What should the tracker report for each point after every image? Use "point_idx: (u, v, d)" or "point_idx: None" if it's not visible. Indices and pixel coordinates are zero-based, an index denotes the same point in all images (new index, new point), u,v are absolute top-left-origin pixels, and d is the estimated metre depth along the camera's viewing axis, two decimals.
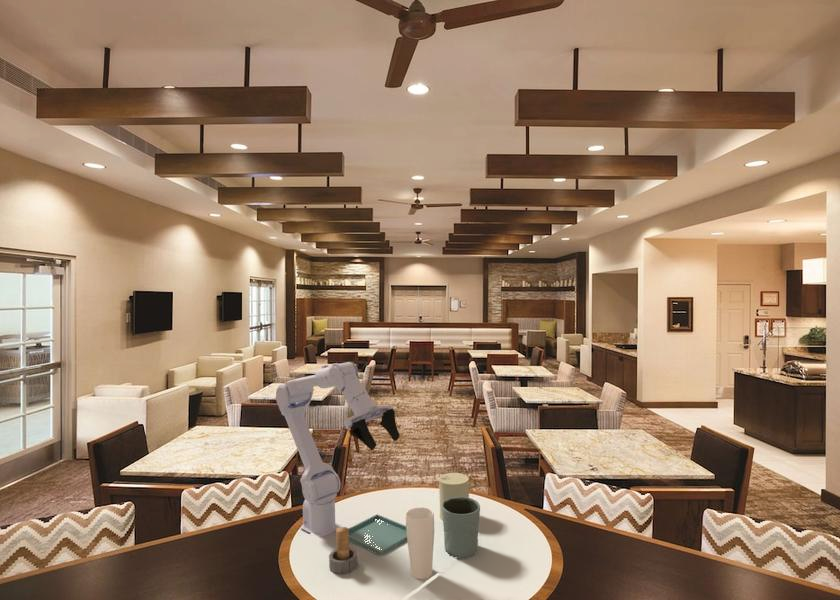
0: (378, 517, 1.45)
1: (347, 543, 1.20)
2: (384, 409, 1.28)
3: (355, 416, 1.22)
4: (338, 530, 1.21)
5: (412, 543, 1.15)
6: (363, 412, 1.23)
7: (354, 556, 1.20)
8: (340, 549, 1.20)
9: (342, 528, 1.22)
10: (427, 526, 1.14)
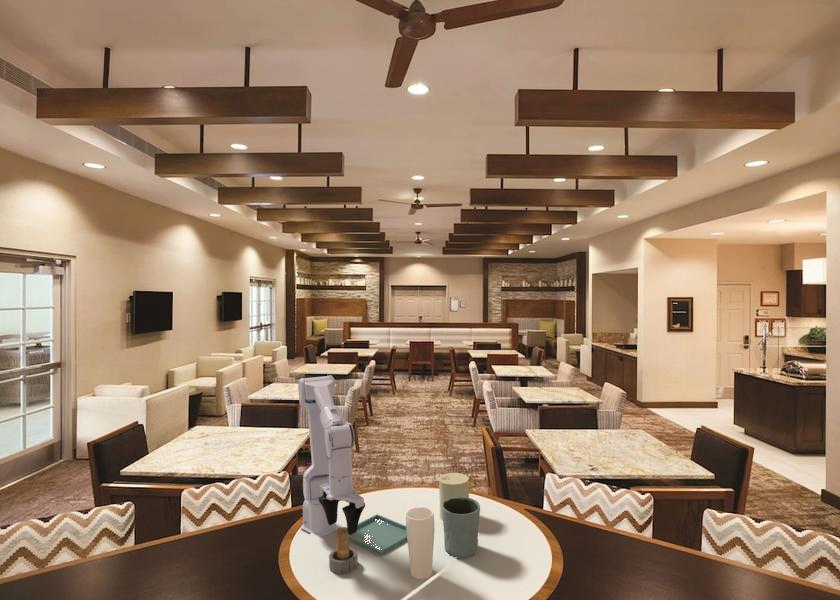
0: (378, 517, 1.45)
1: (347, 543, 1.20)
2: None
3: (324, 490, 1.23)
4: (338, 530, 1.21)
5: (412, 543, 1.15)
6: (327, 493, 1.21)
7: (354, 556, 1.20)
8: (340, 549, 1.20)
9: (342, 528, 1.22)
10: (427, 526, 1.14)
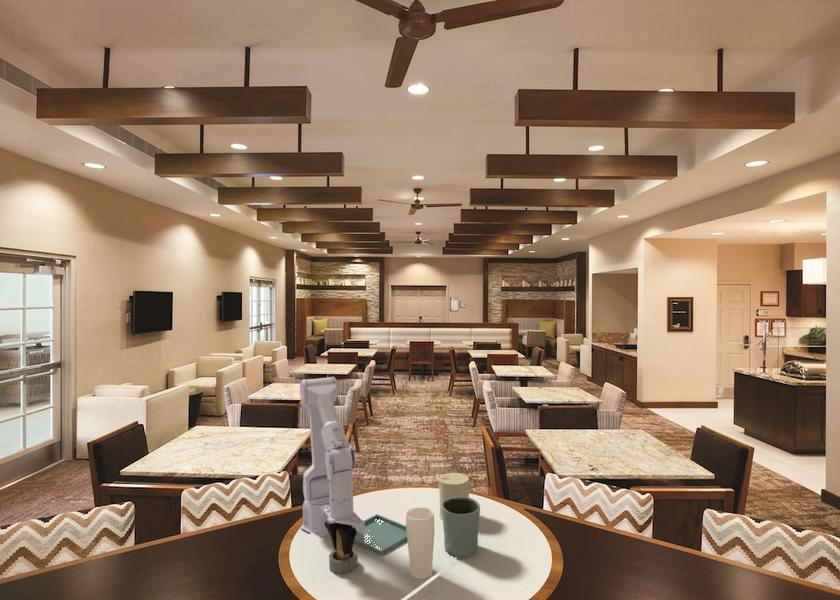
0: (378, 517, 1.45)
1: None
2: None
3: (325, 512, 1.23)
4: None
5: (412, 543, 1.15)
6: (327, 516, 1.21)
7: (354, 556, 1.20)
8: (340, 549, 1.20)
9: None
10: (427, 526, 1.14)
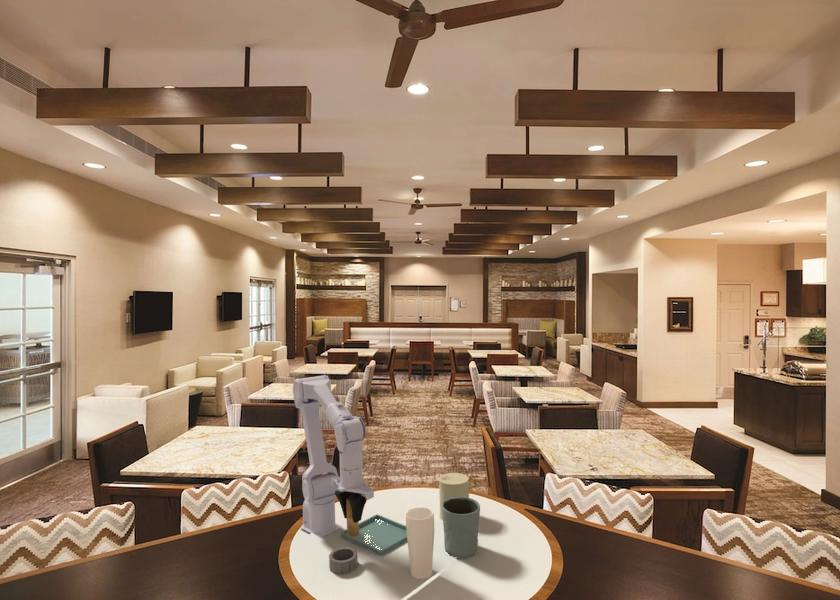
0: (378, 517, 1.45)
1: None
2: None
3: (335, 482, 1.27)
4: None
5: (412, 543, 1.15)
6: (338, 485, 1.25)
7: (354, 556, 1.20)
8: (350, 517, 1.24)
9: None
10: (427, 526, 1.14)
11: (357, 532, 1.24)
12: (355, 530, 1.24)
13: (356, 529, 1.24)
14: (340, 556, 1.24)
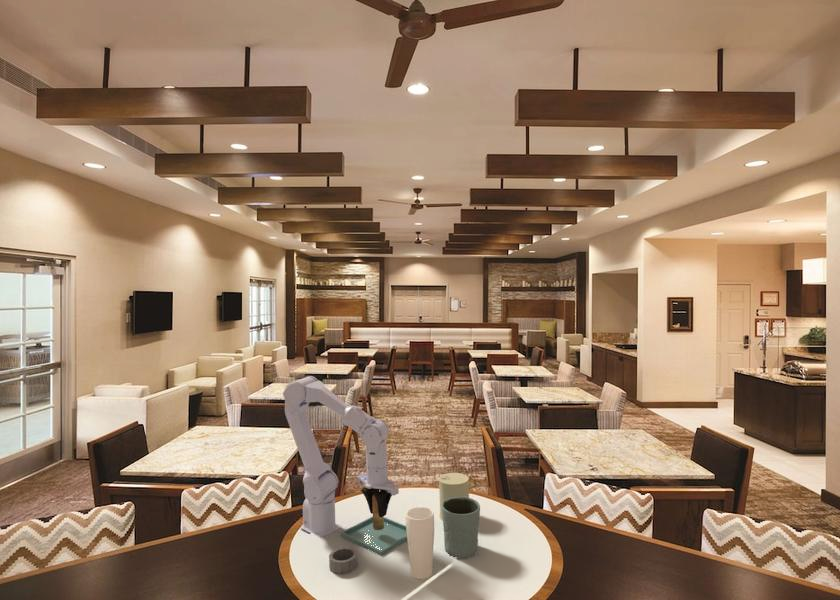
0: None
1: None
2: None
3: (361, 480, 1.38)
4: (374, 495, 1.35)
5: (412, 543, 1.15)
6: (364, 483, 1.36)
7: (354, 556, 1.20)
8: (376, 512, 1.34)
9: None
10: (427, 526, 1.14)
11: (382, 526, 1.35)
12: (380, 524, 1.34)
13: (382, 523, 1.35)
14: (340, 556, 1.24)
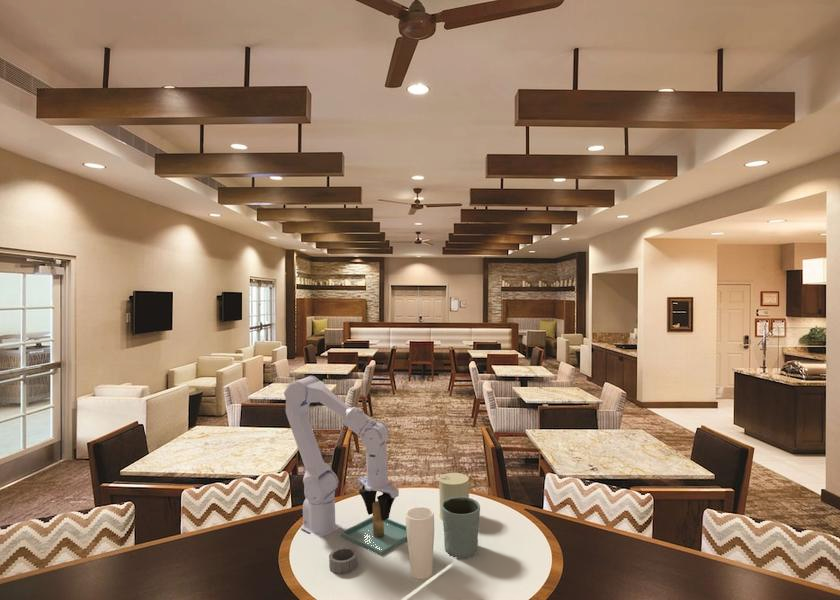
0: None
1: None
2: None
3: (361, 482, 1.38)
4: (374, 503, 1.35)
5: (412, 543, 1.15)
6: (364, 485, 1.36)
7: (354, 556, 1.20)
8: (377, 520, 1.34)
9: (378, 502, 1.36)
10: (427, 526, 1.14)
11: (382, 533, 1.35)
12: (380, 532, 1.34)
13: (382, 531, 1.35)
14: (340, 556, 1.24)
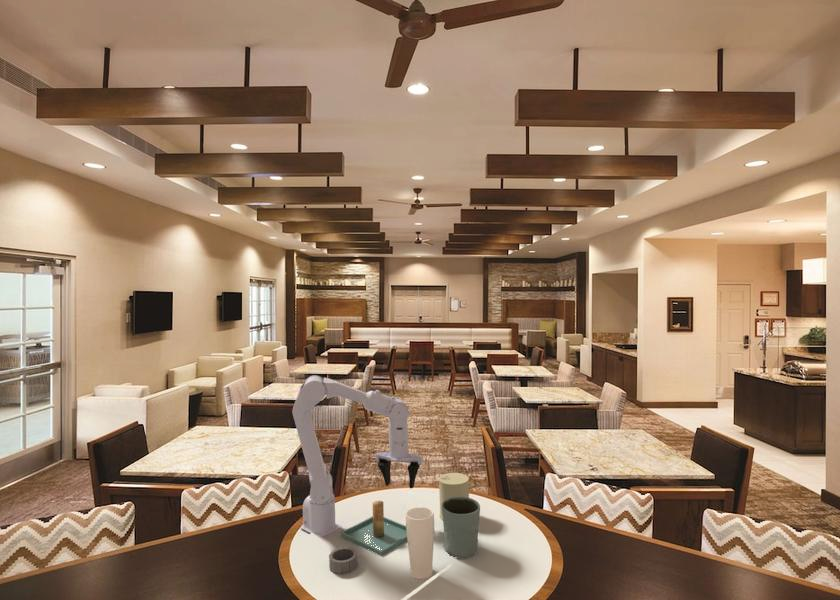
0: None
1: (382, 514, 1.35)
2: None
3: (382, 456, 1.45)
4: (374, 503, 1.36)
5: (412, 543, 1.15)
6: (387, 458, 1.44)
7: (354, 556, 1.20)
8: (377, 520, 1.34)
9: (378, 502, 1.36)
10: (427, 526, 1.14)
11: (383, 533, 1.35)
12: (380, 532, 1.35)
13: (382, 531, 1.35)
14: (340, 556, 1.24)
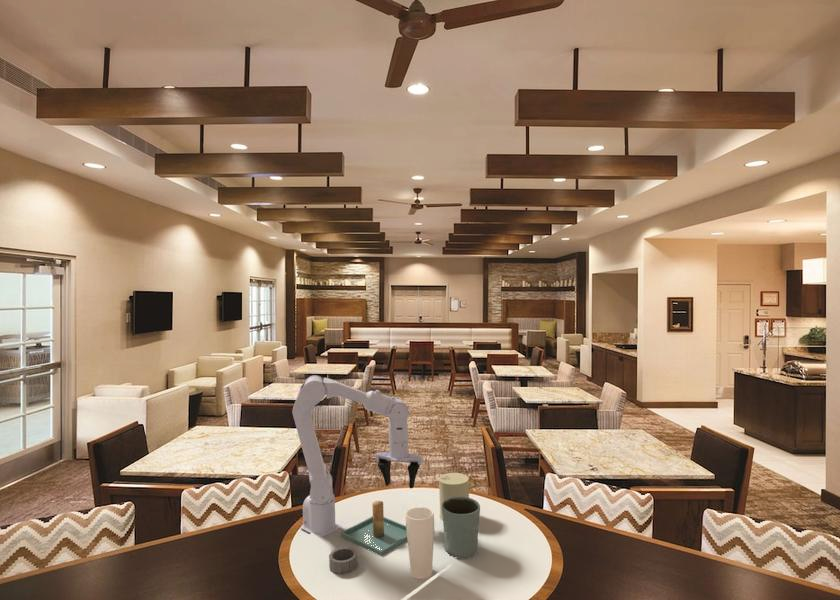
0: None
1: (382, 514, 1.35)
2: None
3: (382, 456, 1.45)
4: (374, 503, 1.35)
5: (412, 543, 1.15)
6: (387, 458, 1.44)
7: (354, 556, 1.20)
8: (377, 520, 1.34)
9: (378, 502, 1.36)
10: (427, 526, 1.14)
11: (383, 533, 1.35)
12: (380, 532, 1.35)
13: (382, 531, 1.35)
14: (340, 556, 1.24)
